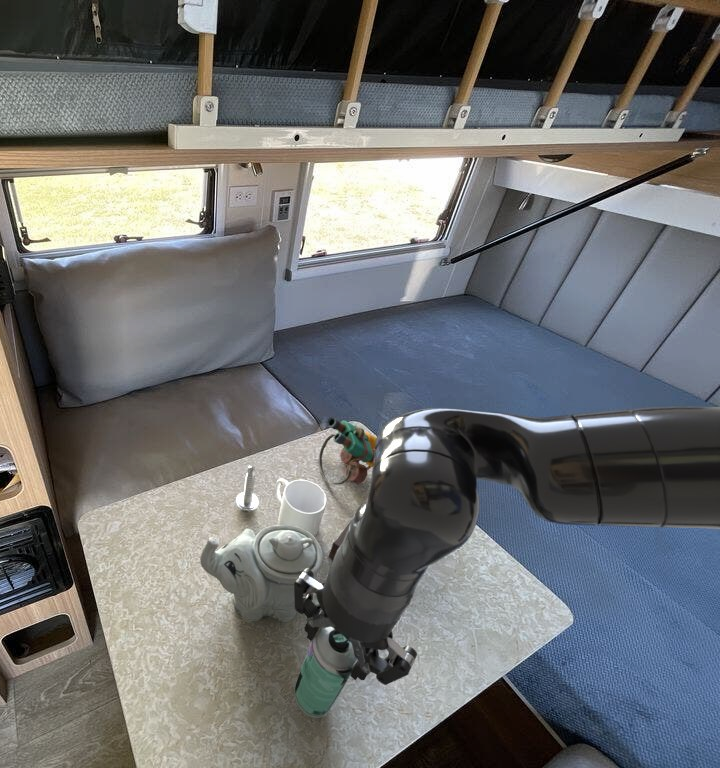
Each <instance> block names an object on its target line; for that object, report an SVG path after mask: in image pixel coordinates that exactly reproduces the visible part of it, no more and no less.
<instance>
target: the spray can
mask: <svg viewBox="0 0 720 768" xmlns="http://www.w3.org/2000/svg"><path fill="white" fill-rule="evenodd" d="M357 663H358V659H357V658H355V656H354V651H353V647H352V643H351V642H349V641H348V640H347V639H346V638H345V637H344V636H343V635H342V634H341V633H339V632H338V631H336V630H335V629H334V628H332V627H327V628H322V629H321V628H319V629H318V630H317V632H316V633H315V635H314V638H313V640H312V641H311V643H310V646H309V648H308V650H307V653H306V656H305V658H304V660H303V663H302V665H301V668H300V671H299V673H298V676H297V678H296V681H295V684H294V691H293V692H294V698H295V702H296V704H297V705H298V707H299V709H300V710H301V711H302V712H303V714H305V715H307V716H309V717H311V718H313V719H314V718H315V719H319V718H320V719H321V718H323V717H325V716H326V715H328V713H329V712H330V711H331V709H332V707H333V705H334V703H336V701H337V699H338V697H339V695H340V694H341V693H342V691H343V689H344V687H345V685H346V684H347V682H348V680H349V679H350V677H351V674H352V672H353V670H354V668H355V667H356V665H357Z"/></svg>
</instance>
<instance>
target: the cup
mask: <svg viewBox="0 0 720 768" xmlns="http://www.w3.org/2000/svg"><path fill="white" fill-rule="evenodd" d="M281 485H282V486H283V487H284V490H283V493H282V495H281V489H280V488H281ZM274 496H275V498H276V499H275V500H276V501H277V502H278V504H279V506H280V508H279V512H278V519H277V525H290V526H296V527H299V528H302V529H304V530H306V531H308V532H309V533H310V534H311V535H313V536H314V537H315V538H316V536H317V534H318V531H319V529H320V526H321V522H322V520H323V519H322V518H323V516H324V512H325V510H326V506H327V503H328V500H327V499H328V498H327V495H326V493H325V491H324V490H323V488H321V486H320V485H318V484H317V483H315V482H313V481H310V480H308V479H307V480H306V479H295V480H292V481H290V482H289V481H288V480H286V479H285V478H278V479H277V480H276V482H275V485H274Z"/></svg>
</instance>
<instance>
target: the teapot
mask: <svg viewBox="0 0 720 768" xmlns="http://www.w3.org/2000/svg"><path fill="white" fill-rule="evenodd" d="M218 547H219V541H218V539H217V538H216V537H213V536H210V537H209V538H208V539H207V542H206V544H205V546H204V548H203V549H202V551H201V554H200V559H199V561H200V565H201V567H202V569H203V570H204V571H205V572H206V573H207V574H209V575H210V576H212V577H214V579H216V580H217V581H218V582H219V583H220V585H221V587H222V588H223V589H224V590H226V591H227V592H228V593H231V594H232V595H233V597H234V598H233V599H234V601H233V602H234V603H233V606H234V609H235V610H236V612H237V613H238V614H239V616H240V617H242V618H243V619H245V620H247V621H250V622H257V621H259V620H261V619H262V618H263V617H266V616H267V617H268V616H269V617H271V618H273V619H275V620H277V621H279V622H282V623H288V622H291V621H292V620H293V619H294V618H295V617H296V615H297V614H298V612H297V611H296V610H295V599H294V582H295V581H296V580H297V579H298V577H299V576H300V575H301V573H302V572H303V571H304V569H305V568H309V569H310V570H311V571H312V572H313V574H314V580H316V581H318V574H319V573H320V571H321V569H322V566H323V560H324V559H323V550H322V547H321V546H320V544H319V542H318V540H317V538H316V536H315V537H314V536H313V535H311V534H310V533H309V532H308V531H306V530H304V529H302V528H299V527H296V526H290V525H278V524H276V525H275V524H274V525H269V526H266V527H264V528H262V529H261V530H260V531H259V532H258V533H257V534H256V533H255V531H253V530H252V529H251V528H246V529H244V530H243V531H242V532H241V533H240V534H239V535H238V536H237V537H236V538H234V539H233V540H231V541H230V542H228V543H226V544H224V545H222V546H221V547H220V548H219V549H218ZM217 549H218V550H217Z"/></svg>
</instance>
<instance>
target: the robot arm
mask: <svg viewBox="0 0 720 768" xmlns="http://www.w3.org/2000/svg"><path fill="white" fill-rule="evenodd" d="M478 480H483V481H488V482H493V483H498V484H502V485H506V486H510V487H512V488H513V489H515V490H516V491H517V492H518V493H519V494H520V496H521V497H522V499H523V500H524V502H525V503H526V505H527V506H528V507H529V509H530V510H531V511H532V513H533V514H535V515H536V516H537V517H538V518H539V519H542V521H543V520H544V521H545V522H548V523H552V524H557V525H566V526H584V527H595V526H598V527H625V528H626V527H627V528H664V529H665V528H667V529H668V528H670V529H671V528H672V529H673V528H674V529H711V530H720V406H719V407H718V406H694V405H690V406H689V405H684V406H682V405H679V406H677V405H676V406H674V405H673V406H672V405H671V406H651V407H650V406H649V407H638V408H627V409H615V410H604V411H603V410H602V411H592V412H591V411H590V412H580V413H571V414H561V415H553V416H544V417H543V416H530V415H523V414H515V413H507V412H500V411H499V412H498V411H485V410H476V409H475V410H473V409H464V408H463V409H462V408H461V409H460V408H451V407H429V408H428V407H427V408H421V409H420V408H419V409H415V410H410V411H407V412H404V413H402V414H399V415H397V416H395V417H393V418H391V419H389V420H388V421H387V422H386V423H385V424H384V425H382V427H381V428H380V429H379V431H378V433H377V436H376V443H375V451H374V461H373V467H372V469H371V477H370V485H369V490H368V495H367V499H366V501H364V502H362V503H361V505H360V506H358V508H357V509H356V511H355V512H354V514H353V515H352V517H353V518H351V519H352V520H351V519H350V520H351V522H350V525H349V527H348V530H347V533H346V535H345V538H344V541H343V542H342V544H341V545H340V547H339V548H338V550H337V552H336V554H335V557H334V559H333V560H332V563H331V565H330V568H329V571H328V573H327V576H326V579H325V581H324V582H322V583H321V582H319V581H318V580H317V581H316V580H314V574H313V572H312V571H311V570H310V569H309V568H305V569H304V571H303V572H302V573H301V575H300V576H299V577H298V579H297V580H296V581H295V582H294V599H295V610H296V611H297V614H299V615H304V616H305V617H306V619H305V622H306V623H305V624H304V628H303V630H304V632H305V633H306V639H307V640H309V642H312V641H313V638H314V635H315V633H316V632H317V630H318V629H319V628H321V629H322V628H327V627H332V628H334V629H335V630H336V631H338V632H339V633H341V634H342V635H343V636H344V637H345V638H346V639H347V640H348V641H349V642H351V643H352V647H353V651H354V656H355V658H357V659H358V663H357V665H356V667H355V668H354V670H353V672H352V674H351V675H350V677H351V678H352V680H354V681H357V679H359V680H360V681H365V680H366V679H367V676H369V675H370V674H371V673H372V674H374V675H375V678H376V680H377V681H378V682H379V683H380V684H382V685H384V686H387V685H390V684H392V683H394V682H395V681H398V680H400V679H403V678H405V677H407V676H409V674H410V671H411V670H412V667H413V665H414V663H415V661H416V658H417V657H418V652H417V651H416V649H414V647H412V646H410V645H405V646H401V645H400V644H399V643H398V642H397V641H396V640H394V633H393V630H394V628H395V626H396V625H397V624H398V622H399V621H400V618H401V617H402V615H403V614H404V612H405V611H406V609H407V608H408V607H409V605H410V604H411V601H412V600H413V598H414V595H415V592H416V589H417V586H418V585H419V583H420V581H421V580H422V578H423V576H424V575H425V573H426V572H427V571H428V568H429V567H430V566H432V565H434V564H436V563H437V562H439V561H441V560H442V559H444V558H445V557H447V556H448V555H450V554H452V553H454V552H455V551H456V550H458V549H460V548H461V547H463V546H464V545H465V544H466V543H468V540H469V539H470V538H471V536H472V534H473V533H474V530H475V528H476V525H477V523H478V521H479V520H478V519H479V515H480V512H481V511H480V509H481V499H480V492H479V486H478ZM314 594H315V598H316V599H317V602H318V603H317V604H315V602H314ZM385 650H386V651H387V652H388V654H387V656H385V657H384V658H382V657H381V656H380V653H379V651H385Z"/></svg>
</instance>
